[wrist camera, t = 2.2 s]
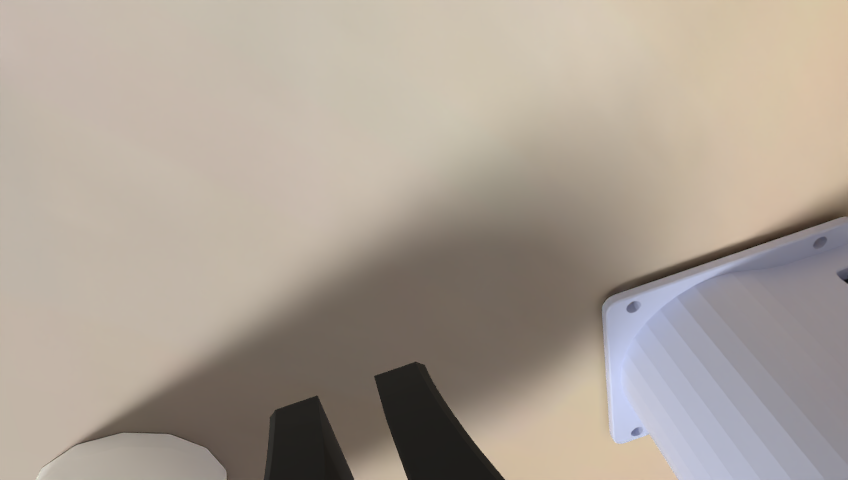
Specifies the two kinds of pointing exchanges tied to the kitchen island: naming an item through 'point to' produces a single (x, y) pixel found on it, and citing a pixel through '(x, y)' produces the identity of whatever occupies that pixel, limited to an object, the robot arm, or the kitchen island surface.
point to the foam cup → (135, 460)
